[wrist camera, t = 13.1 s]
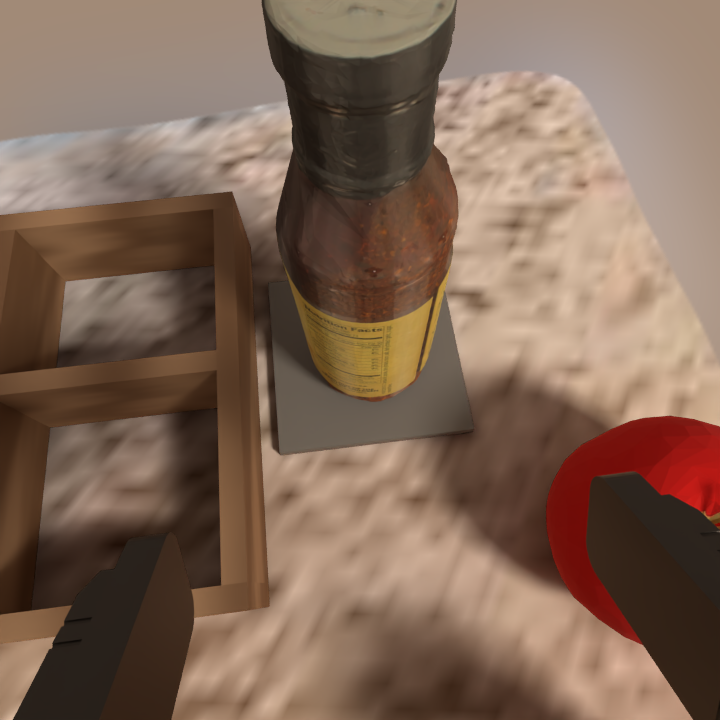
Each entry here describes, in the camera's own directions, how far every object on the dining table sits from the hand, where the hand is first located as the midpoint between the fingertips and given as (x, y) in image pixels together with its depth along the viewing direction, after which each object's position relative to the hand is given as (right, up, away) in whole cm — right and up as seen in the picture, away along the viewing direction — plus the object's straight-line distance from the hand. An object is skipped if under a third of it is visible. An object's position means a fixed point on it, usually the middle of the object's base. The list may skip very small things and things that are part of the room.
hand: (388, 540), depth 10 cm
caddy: (-12, +1, +18) cm, 22 cm away
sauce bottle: (0, +4, +19) cm, 19 cm away
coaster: (0, +4, +20) cm, 20 cm away
